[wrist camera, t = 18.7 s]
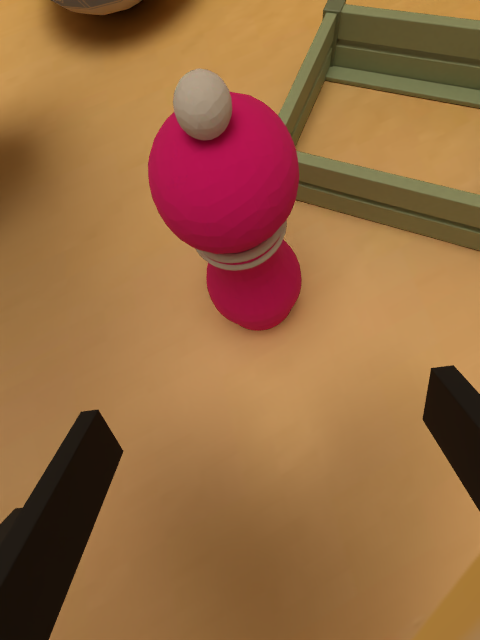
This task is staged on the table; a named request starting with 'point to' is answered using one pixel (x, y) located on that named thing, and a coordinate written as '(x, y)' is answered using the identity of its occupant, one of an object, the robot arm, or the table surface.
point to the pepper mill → (230, 196)
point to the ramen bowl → (96, 5)
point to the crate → (397, 77)
